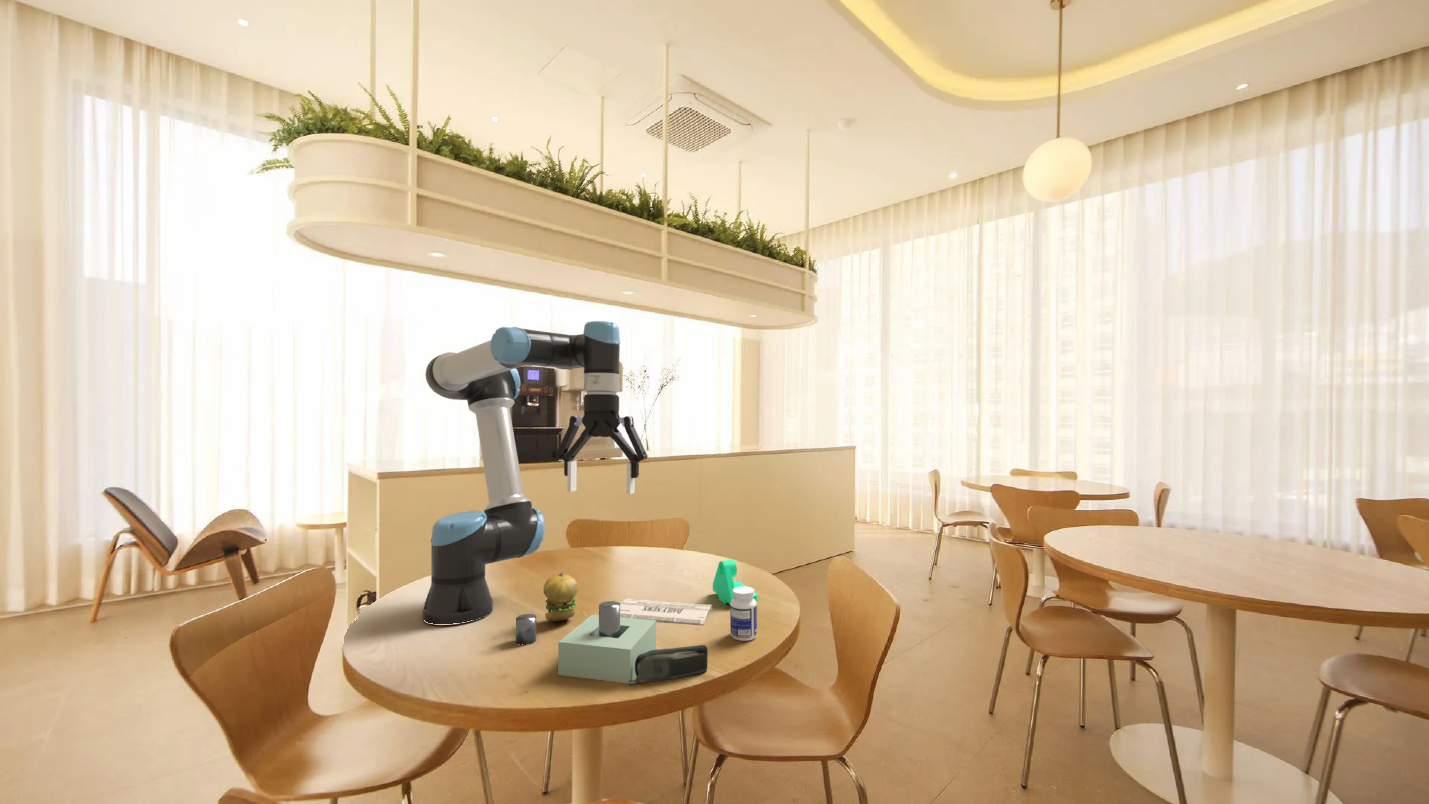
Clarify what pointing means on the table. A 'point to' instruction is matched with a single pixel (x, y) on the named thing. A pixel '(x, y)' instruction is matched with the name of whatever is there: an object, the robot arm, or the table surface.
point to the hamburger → (560, 597)
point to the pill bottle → (743, 614)
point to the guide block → (605, 650)
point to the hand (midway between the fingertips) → (600, 492)
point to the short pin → (526, 629)
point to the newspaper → (665, 611)
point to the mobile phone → (670, 663)
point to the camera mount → (727, 581)
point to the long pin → (609, 619)
